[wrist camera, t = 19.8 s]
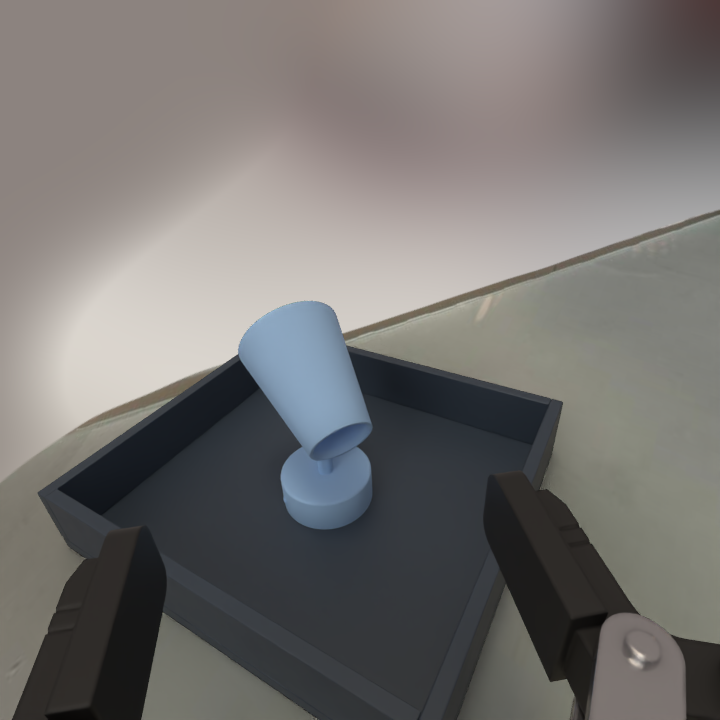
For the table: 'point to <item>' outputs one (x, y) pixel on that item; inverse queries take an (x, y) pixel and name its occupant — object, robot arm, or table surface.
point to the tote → (323, 533)
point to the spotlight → (314, 411)
